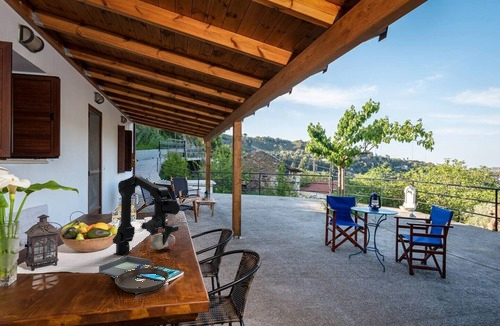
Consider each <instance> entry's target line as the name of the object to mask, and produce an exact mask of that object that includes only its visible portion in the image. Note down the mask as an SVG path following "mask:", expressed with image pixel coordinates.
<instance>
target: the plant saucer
mask: <svg viewBox="0 0 500 326" xmlns="http://www.w3.org/2000/svg"><path fill="white" fill-rule="evenodd" d="M140 274H156V275H160V276H162V277H164V278H165V281H163V282H162V281H154V280H150V279H146V280H145V281H143V282H142V281H136V280H135V279H137V278H136V276H137V275H140ZM169 278H170V274H169V272H167V271H166V270H164V269H160V268H156V267H155V268H153V267H149V268H142V269H135V270H131V271H127V272H125V273H122V274H120V275H119V276H118V277H117V276H116V277H115V280H114V282H115V284H116V285H117V287H118V288H119V289H121V290H122V291H124V292H127V293H133V294H134V293H135V294H136V293H137V294H139V293H140V294H141V293H142V294H143V293H147V292H148V293H149V292H151V291H155V290H157V289H160V288H161V287H162V286H163V285H165V283H166V282H167V281H168V279H169ZM137 287H141V288H137Z"/></svg>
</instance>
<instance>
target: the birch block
mask: <svg viewBox="0 0 500 326" xmlns="http://www.w3.org/2000/svg"><path fill="white" fill-rule="evenodd" d="M167 246H168V239H167V241H166V243H165V245H163V235H162V233H161V232H158V234H155V235H152V236H151V235H150V249H154V250H161V249H165V248H164V247H167Z"/></svg>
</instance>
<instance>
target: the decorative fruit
mask: <svg viewBox="0 0 500 326" xmlns="http://www.w3.org/2000/svg"><path fill="white" fill-rule="evenodd" d="M175 243H176V236H175V235H173V234H172V233H170V235H169V237H168V246H167V247H164V248H163V249H166V250H169V249H170V248H172V247H173V246H174V245H175Z"/></svg>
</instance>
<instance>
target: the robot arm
mask: <svg viewBox="0 0 500 326" xmlns="http://www.w3.org/2000/svg"><path fill="white" fill-rule="evenodd" d="M117 186H118V189H117V190H118V193H119V195H120V197H121V199H120V200H121V203H120V207H121V209H120V224H119V226H118V228H117V230H116V234H115V236H114V237H113V238H112V243H113V244H115V252H114V253H113V255H116V256H120V257H121V256H123V257H124V256H127V255H129V254H132V252H131V250H130V249H131V248H130V247H131V245H130V242H132V241H133V239H134V237H135V226H133V224H132V197H133V195H134V193H135V191H136V187H138V186H139V187H140V188H142V189H143V190H145V191H147V192H148V193H149V195H150V197H152V198H153V200H151V202H150V203H151V204H154V209H153V214H152V215H151V219H149V220H148V221H144V222H142V224H141V230H145V231H146V232H148V233H150V237H151V236H152V235H155V234H159V229H160V230H163V231H161V232H160V233H162V235H163V245H165V243H166V241H167V239H168V237H169V235H170V234H172V233H175V232H177V231H178V232H179V228H180V227H179V226H178V224H169V223H168V221H167V217H168V215H174V216H176V215H178V214H179V212H180V209H181V207H180V205H179V203H178V200H176V199H173V197H172V195H171V193H170V192H169V189H168V187H166V186H163V185H158V184H155V183H153V182H152V181H149V180H148V179H146V178H145V177H143V176H142V175H137V174H136V175H132V176H130V177H128V178H126V179H123V180H120V181H119V182H118V184H117Z"/></svg>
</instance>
